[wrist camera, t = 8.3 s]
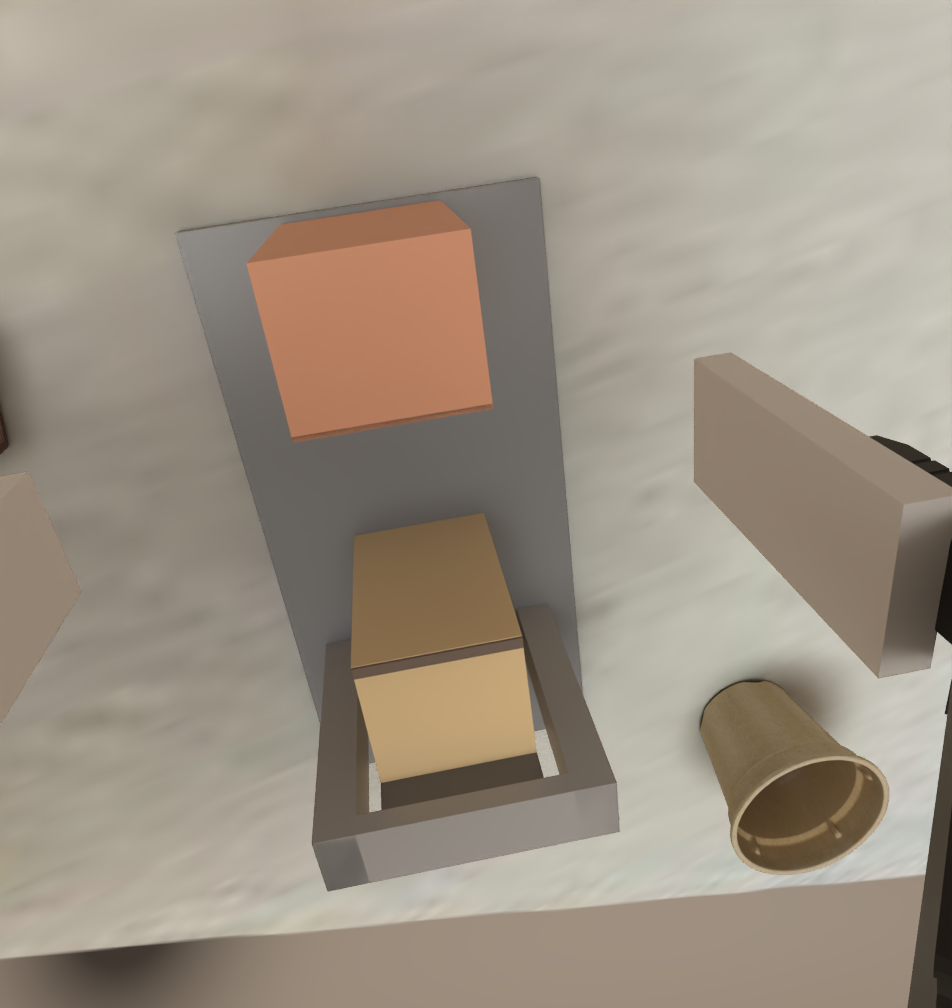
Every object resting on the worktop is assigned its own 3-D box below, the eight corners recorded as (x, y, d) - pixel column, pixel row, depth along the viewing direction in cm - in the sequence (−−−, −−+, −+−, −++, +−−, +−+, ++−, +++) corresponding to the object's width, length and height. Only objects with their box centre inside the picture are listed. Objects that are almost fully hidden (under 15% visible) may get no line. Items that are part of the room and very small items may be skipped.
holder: (334, 760, 48) (323, 989, 35) (178, 231, 33) (64, 295, 21) (581, 712, 49) (658, 918, 36) (535, 177, 34) (637, 206, 22)
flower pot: (838, 678, 51) (923, 777, 43) (762, 779, 54) (828, 887, 46) (723, 642, 48) (792, 740, 40) (651, 750, 51) (701, 860, 44)
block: (311, 359, 35) (292, 442, 26) (280, 224, 33) (246, 263, 23) (459, 335, 36) (493, 408, 26) (440, 199, 33) (470, 228, 24)
